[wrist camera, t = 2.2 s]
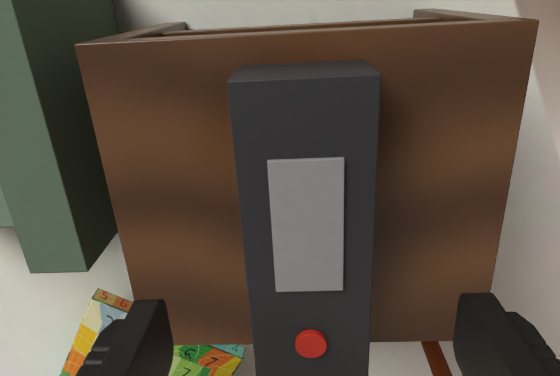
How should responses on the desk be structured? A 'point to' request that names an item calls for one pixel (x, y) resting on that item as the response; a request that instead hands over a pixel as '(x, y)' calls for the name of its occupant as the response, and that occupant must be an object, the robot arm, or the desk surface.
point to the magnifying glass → (436, 358)
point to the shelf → (390, 165)
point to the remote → (307, 211)
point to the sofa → (52, 134)
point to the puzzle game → (187, 358)
